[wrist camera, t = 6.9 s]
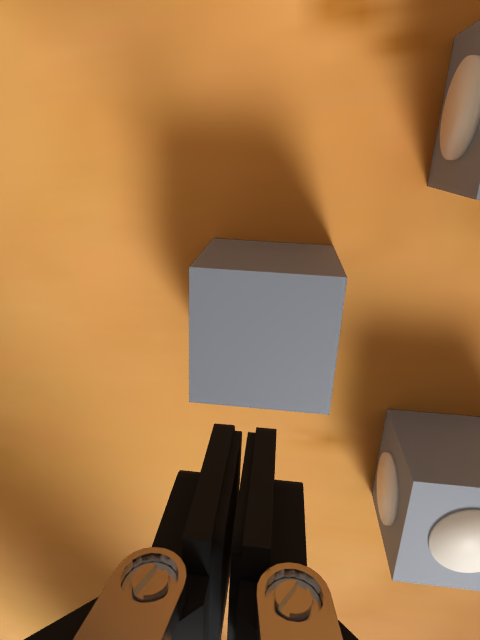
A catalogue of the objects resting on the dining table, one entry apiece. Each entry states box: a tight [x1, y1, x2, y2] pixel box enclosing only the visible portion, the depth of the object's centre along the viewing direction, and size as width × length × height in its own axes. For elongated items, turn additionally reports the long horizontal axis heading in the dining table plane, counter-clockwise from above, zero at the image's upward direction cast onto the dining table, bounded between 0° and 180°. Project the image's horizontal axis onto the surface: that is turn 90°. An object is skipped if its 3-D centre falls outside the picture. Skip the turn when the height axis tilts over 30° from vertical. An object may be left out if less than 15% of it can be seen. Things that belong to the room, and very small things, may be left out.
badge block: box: [372, 409, 480, 591], centre depth 23 cm, size 6×6×6 cm
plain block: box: [189, 238, 347, 415], centre depth 21 cm, size 6×6×6 cm
